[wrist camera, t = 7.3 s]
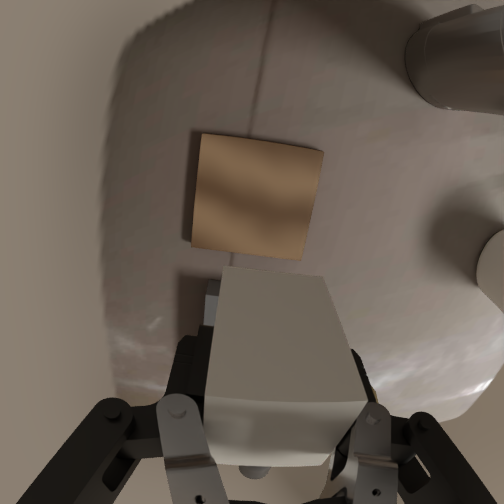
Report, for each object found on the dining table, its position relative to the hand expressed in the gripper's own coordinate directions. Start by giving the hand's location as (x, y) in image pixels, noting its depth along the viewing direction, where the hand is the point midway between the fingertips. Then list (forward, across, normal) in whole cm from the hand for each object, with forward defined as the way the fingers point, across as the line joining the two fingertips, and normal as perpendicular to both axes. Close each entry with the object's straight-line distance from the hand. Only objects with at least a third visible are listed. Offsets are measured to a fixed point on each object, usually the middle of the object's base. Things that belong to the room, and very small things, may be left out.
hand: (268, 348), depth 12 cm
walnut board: (+19, 0, -1) cm, 19 cm away
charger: (+3, 0, +1) cm, 3 cm away
